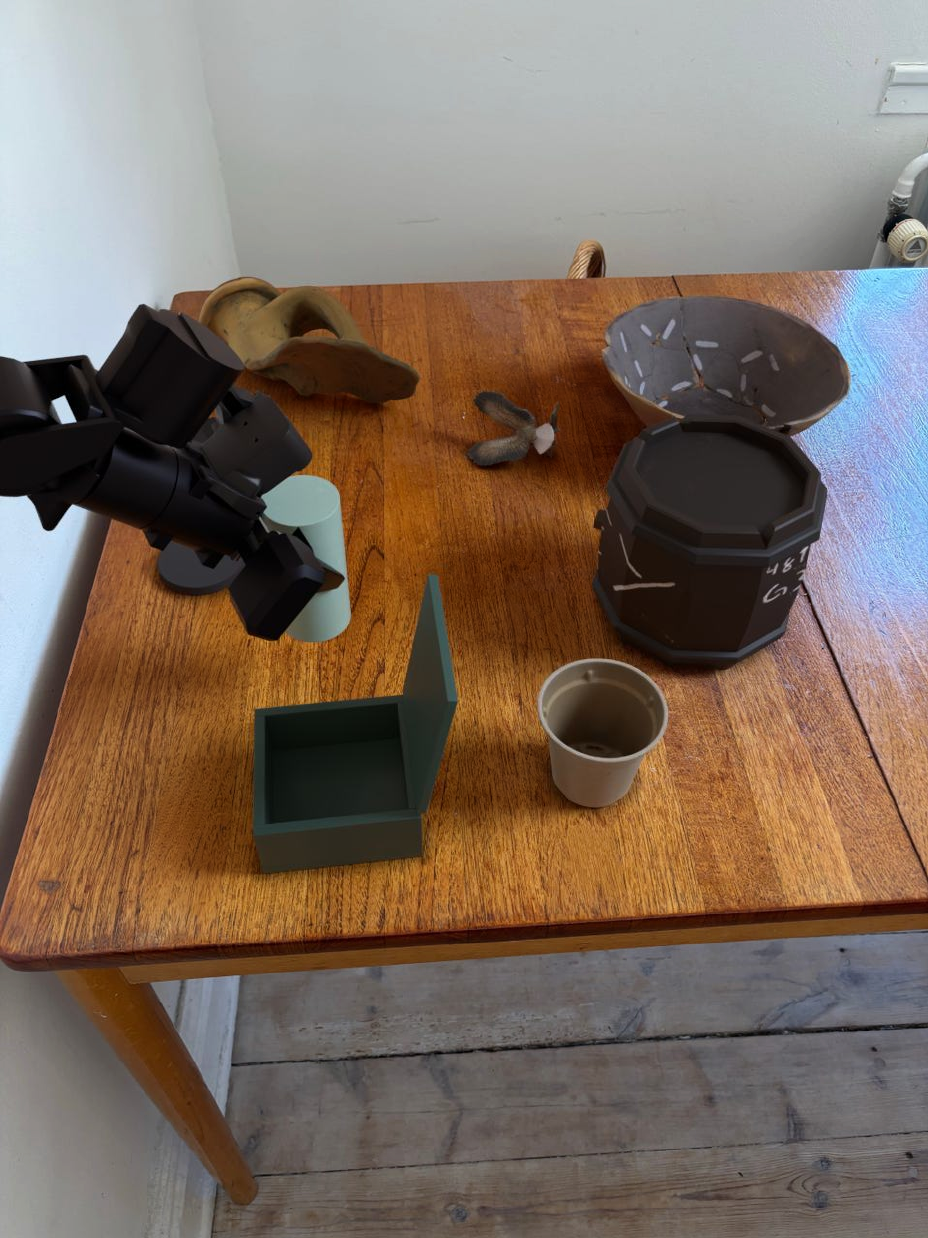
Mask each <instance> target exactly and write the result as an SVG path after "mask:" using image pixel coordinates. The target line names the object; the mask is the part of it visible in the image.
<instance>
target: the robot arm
mask: <svg viewBox="0 0 928 1238" xmlns="http://www.w3.org/2000/svg"><path fill="white" fill-rule="evenodd" d="M244 370H245V367H244V364H243V362H242V360H241V359H240V357H239V356H238V355H237V354H236V353H235V352H234V351H233V350H232V349H231V348H230V347H229V346H228V345H227V344H226V343H225V342H224V341H223V340H222V339H221V338H219V337H218V336H217V335H216V334H214V333H213V332H212V331H211V330H209V329H208V328H206V327H205V326H204V325H202V324H201V323H199V320H196V319H195V318H193V317H191V316H190V315H188V314H186V313H185V312H182V311H179V313H178V312H175V311H173V310H171V309H167V308H160V309H159V310H156V309H154V308H152V307H151V306H149V305H147V304H145V303H141V304H139V305H138V306H137V307H136V308H135V310H134V312H133V313H132V314H131V316H130V317H129V320H128V321H127V324H126V327H125V329H124V331H123V334H122V335H121V336H120V339H119V340H118V341H117V343H116V344H115V346H114V347H113V348H112V349H111V352H110V353H109V355H108V356H107V358H106V359H105V360H104V362H103V364H102V365H101V366H100V368H99V370H98V369H96V367H95V366H94V364H93V362H92V359H91V357H89V356H88V355H86V354H79V355H69V356H61V357H53V358H52V357H51V358H43V359H34V360H27V361H20V360H18V359H16V358H12V357H7V356H2V355H0V497H3V498H22V497H27V499H29V501H30V502H31V503H32V504H33V507H34V509H35V512H36V514H37V516H38V520H39V522H40V525H41V527H42V529H43V530H44V531H46V532H52V531H54V530H55V529H56V528H57V526H58V525H59V523H60V522H61V521H62V519H63V518H64V516H65V515H66V514H67V512H68V511H69V509H70V508H71V507H72V506H75V507H78V508H80V509H83V510H86V511H89V512H91V513H94V514H97V515H100V516H102V517H105V518H108V519H111V520H113V521H115V522H117V523H118V522H119V523H121V524H123V525H125V526H130V527H132V528H134V529H137V530H140V531H141V532H142V533H143V535H144V537H145V539H146V541H147V543H148V546H149V547H150V548H153V549H156V550H158V551H160V552H161V551H164V549H165V548H166V547H167V545H168V544H169V543H170V541H172V542H175V543H177V544H180V545H183V546H185V547H188V548H191V549H193V550H194V551H195V553H196V555H197V557H198V559H199V560H200V562H201V564H202V565H203V566H206V567H209V568H211V569H214V568H215V567H216V566H217V565H218V563H219V562H220V561H221V559H222V558H223V557H224V555H227V556H229V557H230V559H231V561H233V562H238V561H239V559H240V558H242V560H243V561H244V563H245V566H244V568H243V569H242V570H241V572H240V573H239V574H238V575H237V577H236V578H235V579H234V580H233V582H232V583H231V584H230V585H229V586H228V587H227V591H228V595H229V596H228V597H229V600H230V603H231V606H232V608H233V609H234V611H235V613H236V615H237V617H238V619H239V620H240V623H241V624H242V626H243V628H244V630H245V632H246V634H247V635H249V636H252V637H255V638H258V639H261V640H263V641H267V642H277V641H279V639H280V638H281V637H282V636H283V635H284V634H285V631H286V630H287V628H288V627H289V626H290V625H291V623H292V622H293V621H294V620H295V618H296V617H297V616H298V615H299V614H300V612H301V611H302V610H303V609H304V607H305V606H306V605H307V604H308V603H309V601H310V600H311V599H312V598H313V596H314V595H315V594H316V593H320V592H324V591H329V590H333V589H337V588H338V587H339V586H340V585H341V584H342V583H343V581H344V580H345V577H344V576H343V574H341V573H340V572H338V571H337V570H335V569H334V568H333V567H331V566H329V565H328V564H326V563H325V562H323V561H321V560H320V559H318V558H317V557H315V555H314V551H313V548H312V547H311V545H310V543H309V542H308V540H307V539H306V537H305V535H304V534H303V532H302V531H301V529H300V528H299V527H297V528H296V530H295V531H294V532H293V534H292V535H290V534H288V533H282V534H281V533H280V532H278V531H276V530H272V531H270V532H269V530H268V529H267V527H266V525H265V524H264V522H263V519H262V513H263V512H264V511H265V509H266V508H267V505H266V504H265V502H264V500H263V499H261V496H262V495H263V494H266V493H267V492H269V491H270V490H272V489H273V488H275V487H276V486H277V485H279V484H280V483H281V482H283V481H284V480H285V479H287V478H288V477H290V476H293V475H294V474H295V473H299V472H302V471H303V470H305V468H307V467H308V466H309V465H310V463H311V462H312V460H313V451H312V450H311V448H310V446H309V445H308V444H307V443H306V441H305V440H304V438H303V437H302V436H301V434H300V433H299V431H298V429H297V428H296V426H295V425H294V424H293V422H292V421H291V420H290V419H289V418H288V417H287V415H286V414H285V413H284V411H283V410H282V409H281V407H279V405H278V403H277V402H276V401H275V400H274V399H273V398H272V397H271V396H270V395H269V394H265V393H263V392H262V391H261V390H259V389H258V390H257V391H255V392H254V393H253V392H252V391H251V390H249V389H246V388H243V387H241V386H238V385H236V384H234V383H235V382H236V381H237V380H238V378H239V377H240V376H241V374H242V372H243V371H244ZM62 397H64V398H65V400H66V402H67V404H68V407H69V408H70V411H71V413H72V415H73V417H74V420H75V421H73V422H67V423H62V420H61V419H60V416H59V413H58V412H57V409H56V407H55V405H54V402H53V401H55V400H57V399H60V398H62ZM214 411H215V415H216V417H215V416H211V415H212V414H213V412H214ZM210 416H211V417H210Z"/></svg>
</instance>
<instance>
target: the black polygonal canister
mask: <svg viewBox="0 0 928 1238" xmlns="http://www.w3.org/2000/svg"><path fill="white" fill-rule="evenodd" d="M613 467H614V468H613V470H612V472H611V474H610V477H609V479H608V482H607V483H606V486H605V492H606V493H607V495H608V497H609V499H608V503H607V507H606V509H603V508H599V509H598V510H597V512H596V515H595V517H594V520H593V525H592V528H593V529H595V530H599V531H600V536H599V542H598V550H597V568H596V571H595V573H594V576H593V578H592V580H591V586H592V591H593V593H594V594H595V596H596V599H597V600H598V602H599V605H600V607H602V610H603V612H604V613H605V615H606V617H607V619H608V621H609V623H610V625H611V627H612V629H613V631H614V632H615V634H616V635H617V636H618V639H619V640H620V642H621V643H623V644H625V645H626V646H629V647H630V648H632V649H634V650H636V651H637V652H640V653H641V654H643V655H645V656H646V657H649V658H650V659H652V660H654V661H656V662H658V663H660V664H662V665H663V666H665V667H667V668H669V669H673V668H674V669H692V670H693V669H696V670H722V671H723V670H725V671H727V670H729V669H730V668H732V667H733V666H735V665H737V664H739V663H740V662H742V661H744V660H746V659H748V658H749V657H751V656H753V655H755V654H756V653H758V652H759V651H761V650H763V649H766V647H768V646H770V645H771V644H773V643H775V642H777V641H779V640H780V639H781V638H783V637H784V635H785V634H786V631H787V627H788V622H789V617H790V611H791V609H792V607H793V606H794V604H795V601H796V600H797V596H798V593H799V590H800V587H801V585H802V582H803V579H804V577H805V574H806V570H807V564H808V559H809V555H810V550H811V545H812V544H814V543H816V542H818V541H819V540H820V538H821V533H822V532H821V531H822V527H823V521H824V516H825V511H826V505H827V500H828V499H827V498H828V487H827V486H826V485H825V484H824V482H823V481H822V472H821V471H820V470H819V468H817V466H816V465H815V464H814V463H813V461H812V460H811V459H810V458H809V457H808V455H807V454H806V453H805V452H804V451H803V450H802V449H801V447H800V446H799V444H798V443H797V442H795V440H794V439H793V438H792V436H791V437H789V436H787V435H784V434H782V433H780V432H777V431H775V430H772V429H770V428H767V427H765V426H763V425H760V424H758V423H755V422H753V421H750V420H748V419H746V418H743V417H741V416H738V415H709V414H687V415H686V416H685V417H684V418H682V419H681V420H680V421H678V420H677V418H676V417H675V416H674V417H672V418H669V419H667V420H665V421H662V422H660V423H658V424H655V425H653V426H651V427H646V428H643V429H642V430H641V431H640V433H639V434H638V435H637V436H634V438H633V439H632V440H629V441H627V442H625V443H624V444H623V446H622V448H621V451H620V453H619V455H618V457H617V460H616V462H615V465H614V466H613Z"/></svg>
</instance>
